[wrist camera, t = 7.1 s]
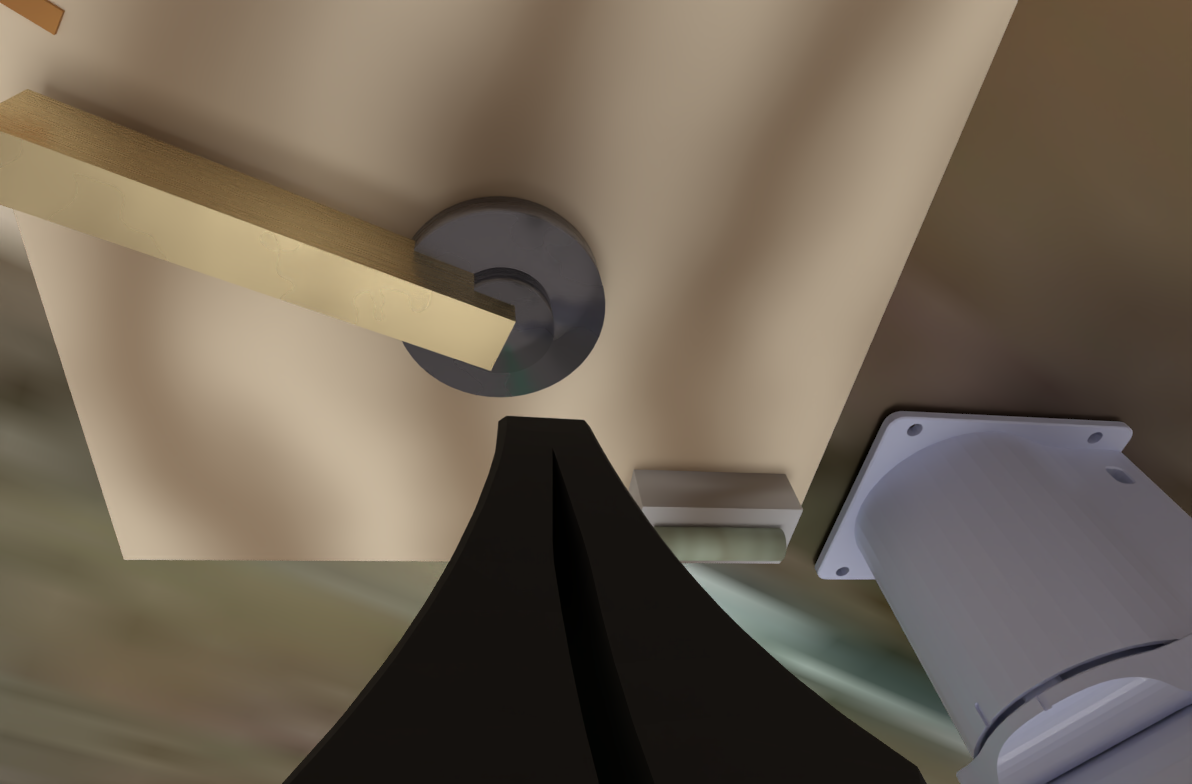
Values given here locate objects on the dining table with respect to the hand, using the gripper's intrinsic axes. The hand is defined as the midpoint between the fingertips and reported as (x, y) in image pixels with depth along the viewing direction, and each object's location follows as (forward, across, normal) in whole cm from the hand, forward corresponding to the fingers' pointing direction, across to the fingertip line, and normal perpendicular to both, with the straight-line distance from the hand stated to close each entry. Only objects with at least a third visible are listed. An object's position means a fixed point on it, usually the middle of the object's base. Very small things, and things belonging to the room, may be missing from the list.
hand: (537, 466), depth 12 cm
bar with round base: (+8, +4, 0) cm, 9 cm away
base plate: (+9, 0, 0) cm, 9 cm away
